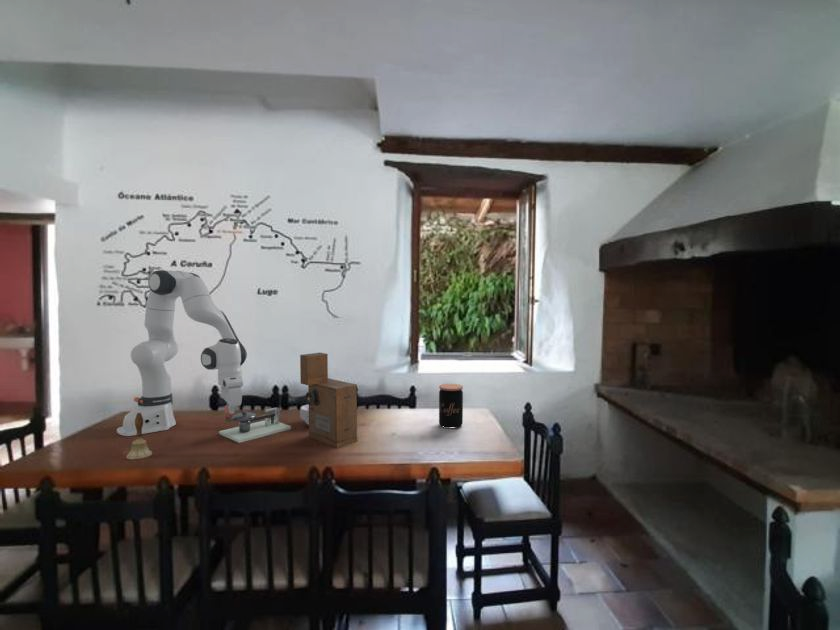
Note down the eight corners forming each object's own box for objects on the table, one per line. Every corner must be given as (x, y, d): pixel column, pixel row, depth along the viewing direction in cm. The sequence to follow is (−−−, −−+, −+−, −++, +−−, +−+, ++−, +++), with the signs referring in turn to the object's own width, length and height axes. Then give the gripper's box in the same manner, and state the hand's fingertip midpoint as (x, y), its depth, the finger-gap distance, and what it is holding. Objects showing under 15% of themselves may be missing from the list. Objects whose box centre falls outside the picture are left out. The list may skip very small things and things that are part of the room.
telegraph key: (231, 437, 183) (230, 408, 183) (220, 432, 189) (220, 404, 188) (279, 425, 200) (279, 398, 199) (269, 421, 206) (268, 394, 205)
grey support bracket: (267, 426, 199) (267, 410, 199) (265, 425, 201) (264, 409, 200) (279, 423, 204) (279, 408, 203) (276, 422, 205) (276, 407, 205)
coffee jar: (435, 427, 203) (435, 387, 202) (443, 420, 213) (443, 382, 212) (458, 430, 199) (458, 389, 198) (465, 423, 209) (465, 384, 208)
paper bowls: (314, 417, 219) (314, 400, 218) (340, 421, 212) (340, 404, 212) (293, 425, 205) (293, 408, 205) (320, 430, 198) (320, 412, 198)
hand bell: (149, 450, 174) (147, 408, 173) (155, 455, 168) (153, 413, 167) (123, 455, 168) (122, 413, 167) (129, 461, 162) (127, 417, 161)
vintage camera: (300, 439, 186) (299, 354, 184) (328, 431, 197) (327, 351, 195) (328, 450, 174) (328, 359, 172) (357, 441, 184) (356, 355, 182)
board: (238, 442, 182) (238, 419, 181) (219, 433, 193) (218, 411, 192) (291, 429, 200) (290, 407, 199) (270, 421, 211) (269, 401, 210)
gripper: (216, 376, 189) (217, 408, 190) (227, 384, 172) (228, 420, 173) (232, 374, 193) (233, 406, 193) (244, 382, 176) (245, 417, 177)
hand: (231, 412), depth 183 cm, fingers closed
